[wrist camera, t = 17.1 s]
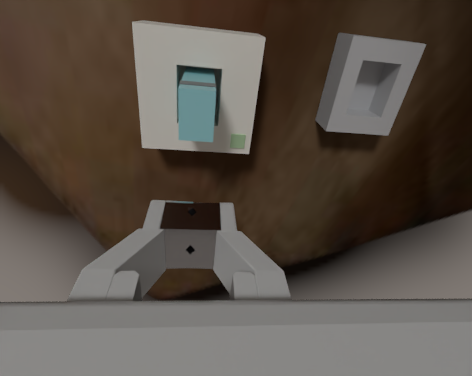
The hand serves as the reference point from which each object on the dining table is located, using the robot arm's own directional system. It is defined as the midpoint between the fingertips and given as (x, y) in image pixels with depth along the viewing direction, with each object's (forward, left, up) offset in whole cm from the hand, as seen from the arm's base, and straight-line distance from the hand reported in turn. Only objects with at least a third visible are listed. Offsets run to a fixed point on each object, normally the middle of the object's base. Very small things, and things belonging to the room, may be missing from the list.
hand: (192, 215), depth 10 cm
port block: (+1, 0, -26) cm, 26 cm away
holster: (-1, +19, -26) cm, 32 cm away
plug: (+1, 0, -25) cm, 25 cm away
